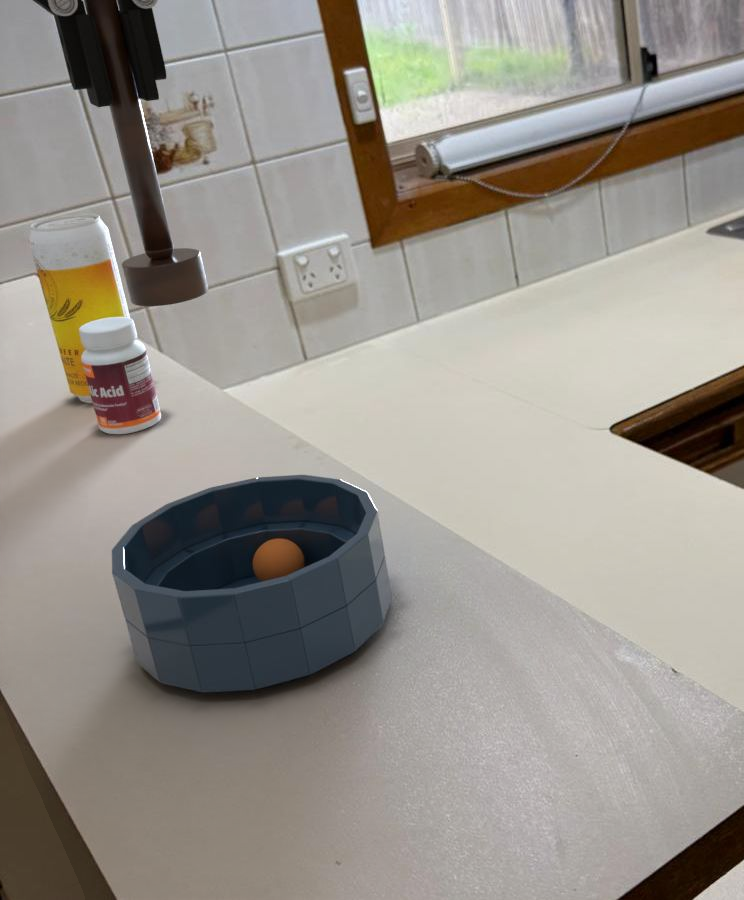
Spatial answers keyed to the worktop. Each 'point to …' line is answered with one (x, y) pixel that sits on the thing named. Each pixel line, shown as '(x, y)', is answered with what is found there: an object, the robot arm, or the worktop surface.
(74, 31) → the robot arm
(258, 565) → the orange ball
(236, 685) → the bowl
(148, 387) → the pill bottle
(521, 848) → the worktop surface
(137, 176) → the wooden tamper
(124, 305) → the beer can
